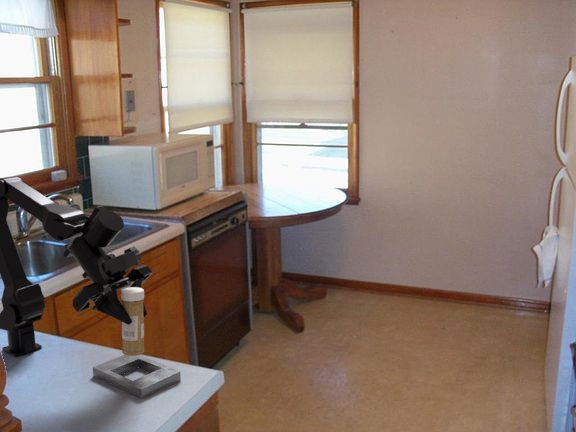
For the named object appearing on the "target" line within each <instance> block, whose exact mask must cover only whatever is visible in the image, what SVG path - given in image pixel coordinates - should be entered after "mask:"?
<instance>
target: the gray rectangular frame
mask: <svg viewBox="0 0 576 432" xmlns="http://www.w3.org/2000/svg"><path fill="white" fill-rule="evenodd" d="M138 367H139V368H140V367H141V368H140V369H142V368H143V369H142V370H144V371H145V370H146V371H148V372H149V373H148V374H145V375H144V376H141V377H139V378H137V379H134V380H132V379H130V378H127V377H125V376H123V375H125V374H127V373H129V371H130V372H132V371H134V370H133V369H135V370H137V369H139V368H138ZM136 368H137V369H136ZM131 370H132V371H131ZM126 372H127V373H126ZM124 373H125V374H124ZM122 374H123V375H122ZM92 376H93V377H94V376H95V377H94V378H96V377H97V378H96V379H98V378H99V380H100V381H103V382H105V383H107V382H108V383H107V384H109V385H112V386H114V387H115V388H118V389H120V390H122V391H124V392H126V393H129V394H130V395H133V396H135V397H137V398H140V399H142V400H143V399H145V398H147V397H149V396H152V395H154V394H155V393H158V392H160V391H161V390H163V389H166V388H168V387H170V386H172V385H175V384H176V383H179V382H180V381H182V380H181V378H182V377H181V371H180V370H178V369H175V368H172V367H170V366H168V365H165V364H162V363H161V362H158V361H156V360H154V359H150V358H148V357H145V356H143V355H142V354H140V355H136V356H127V355H124V354H123V355H120V356H117V357H115V358H113V359H110V360H108V361H105V362H102V363H100V364H98V365H95V366H92Z"/></svg>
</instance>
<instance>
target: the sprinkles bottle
mask: <svg viewBox="0 0 576 432" xmlns="http://www.w3.org/2000/svg"><path fill="white" fill-rule="evenodd" d="M120 298H121V304H122V306H123V307H124V309H125V310H126V312H127V313H128V315H129V316H130V318H131V320H132V323H131V324H130V325H128V324H126V323H124V322H122V321H121V338H122V350H121V353H122V354H123V355H127V356H136V355H142V354H143V353H144V352H145V343H144V342H145V320H144V319H145V317H144V316H143V302H144V299H145V290H144V288H142V287H141V288H138V287H130V288H125V289H123V290H122V291H121V290H120Z"/></svg>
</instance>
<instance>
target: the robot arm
mask: <svg viewBox="0 0 576 432" xmlns="http://www.w3.org/2000/svg"><path fill="white" fill-rule="evenodd" d="M9 202H11V203H13V204H14V205H16V206H17V207H18V208H20V209H22V210H24V211H25V212H26V213H28V214H29V215H31V216H32V217H34V218H35V219H37V220H38V221H39V222H40V223H41V225H42V229H43V230H44V232H46V234H47V235H48V236H50V237H51V238H52V239H53V240H55V241H57V242H62V241H66V240H70V239H73V238H74V239H73V240H72V241H71V242H69V243H67V244H64V250H63V258H69V257H72V256H73V258H74V259H75V260H76V262H77V264H79V266H80V268H81V269H82V270H83V273H82V274H81V276H82V277H83V279H84V280H85V279H89V280H90V281H91V282H92V283H90V284H87V285H84V286H83V287H82V288H81V289H80V291H78V293H77V294H76V295H75V296H74V297H73V298H72V307H73V308H74V310H75V311H76V313H77V314H80V313H82V312H83V311H87V310H88V309H90V304H91V303H90V302H91V301H93V304H94V306H93V307H92V308H91V310H92V311H98V312H100V313H103V314H105V315H106V316H107V315H108V316H110V317H112V318H114V319H116V320H118V321H120V322H121V323H122V322H124V323H126V324H128V325H130V324H131V323H132V320H131V318H130V316H129V315H128V313H127V312H126V310H125V309H124V307H123V306H122V302H121V301H120V300H119V298H118V297H119V296H118V290H120V292H121V291H122V290H123V289H125V288H130V287H138V288H142V286H143V285H144V283H145V282H146V281H147V280H148V279H149V278H150V277H151V276H152V274H153V273H154V272H153V271H152V269H151V268H150V267H149V265H145V264H141V265H140V262H139V261H141V260H142V259H143V258H142V254H141V252H140V251H139V249H138V248H137V247H136V246H131V247H129V248H126V249H124V252H123V253H122V254H120V255H117V256H116V255H115V254H114V253H109V254H108V253H107V252H106V250H105V249H104V248H107V247H108V246H109V245H110V244H111V243H112V242H113V241H114V240H115V238H116V237H117V236H118V234H120V233H121V231H122V230H123V229H124V228H125V227H124V226H125V222H124V220H123V218H122V217H121V216H120V215H119V214H117V213H116V212H115V211H112V210H110V209H107V208H106V207H105V206H104V205H100V206H95V208H94V209H93V210H92V212H91V214H90V215H86V214H85V213H84V212H83V210H80V209H77V208H75V207H73V206H71V205H65V204H59V203H57V202H54V201H53V200H52V199H50V198H49V197H48V196H47V197H46V196H45V195H44V194H43V193H40V192H39V191H37V190H36V189H35V188H33V187H31V186H29V185H28V184H26V183H25V182H23V180H22V179H21V178H20V177H18V176H9V177H8V176H7V177H3V178H0V277H1V280H2V283H3V287H4V288H3V291H2V297H1V304H2V305H1V306H2V311H0V330H4V331H6V333H7V344H8V345H6V346H3V347H2V351H3V352H6V353H8V354H9V355H12V356H14V357H20V356H22V355H26V354H29V353H31V352H34V351H36V350H40V349H42V348H43V345H41V344H39V343H37V342H36V333H35V326H34V325H35V324H34V323H36V322H38V321H41V320H42V319H43V314H44V311H45V308H46V302H45V300H46V298H45V296H44V294H43V292H42V287H41V285H40V284H39V283H38V282H36V283H33V282H32V281H30V280H29V279H28V278H27V274H26V271H25V268H24V266H23V264H22V259H21V258H20V254H19V252H18V249H17V245H16V244H15V241H14V238H13V235H12V231H11V229H10V227H9V223H8V221H7V219H8V215H9V212H10V211H9V210H10V204H9ZM132 267H134V268H132ZM131 268H132V269H131ZM129 269H130V271H129ZM147 315H148V312H147V308H146V305H145V303H144V301H143V316H144V318H146V317H147Z"/></svg>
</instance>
